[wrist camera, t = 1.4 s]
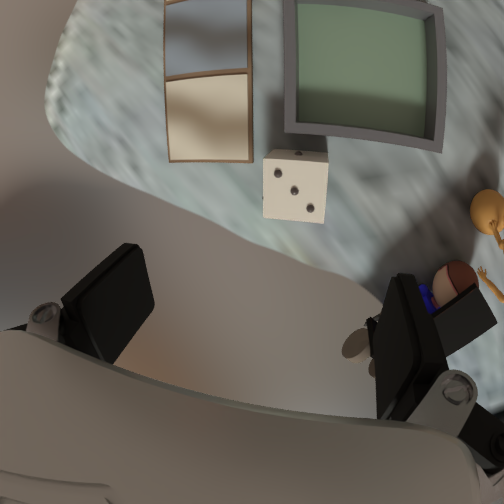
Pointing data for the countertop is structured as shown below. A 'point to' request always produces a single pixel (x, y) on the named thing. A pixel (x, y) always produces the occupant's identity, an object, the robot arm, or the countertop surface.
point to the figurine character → (438, 314)
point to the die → (295, 185)
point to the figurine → (489, 224)
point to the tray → (366, 70)
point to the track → (208, 80)
